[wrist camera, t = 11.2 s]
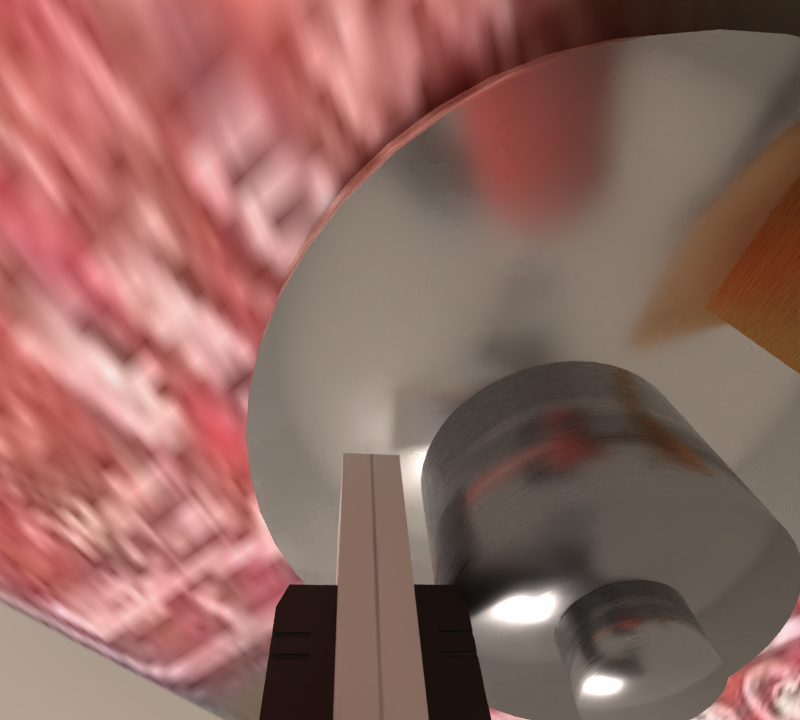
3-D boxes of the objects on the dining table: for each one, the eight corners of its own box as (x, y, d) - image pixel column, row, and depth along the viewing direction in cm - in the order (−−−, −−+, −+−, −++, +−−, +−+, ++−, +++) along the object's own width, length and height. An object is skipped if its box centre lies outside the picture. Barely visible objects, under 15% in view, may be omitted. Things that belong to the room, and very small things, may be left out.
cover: (379, 532, 17) (389, 765, 11) (500, 320, 14) (598, 502, 8) (587, 586, 19) (683, 809, 13) (737, 413, 16) (951, 612, 10)
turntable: (192, 566, 20) (118, 786, 14) (419, -163, 11) (500, -466, 5) (665, 661, 25) (764, 853, 19) (1102, 229, 16) (1570, 334, 10)
